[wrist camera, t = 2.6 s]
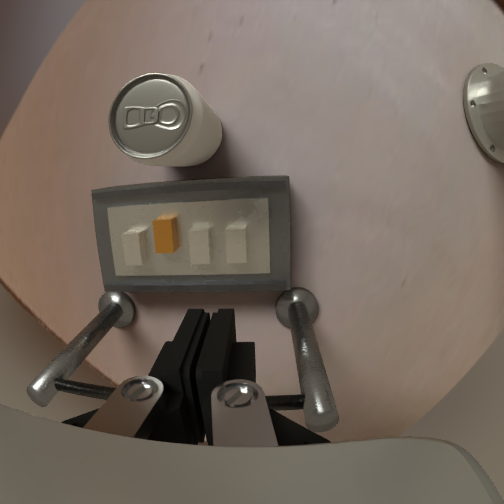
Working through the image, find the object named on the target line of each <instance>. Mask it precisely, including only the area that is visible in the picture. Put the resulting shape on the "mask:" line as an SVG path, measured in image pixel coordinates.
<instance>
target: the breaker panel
mask: <svg viewBox="0 0 504 504" xmlns="http://www.w3.org/2000/svg"><path fill="white" fill-rule="evenodd" d="M91 191H92V203H93V213H94V222H95V231H96V239H97V246H98V253H99V260H100V266H101V272H102V278H103V284H104V289H105V292H247V291H284V290H290V190H289V176H286V175H285V176H249V177H226V178H207V179H192V180H178V181H165V182H154V183H143V184H133V185H124V186H114V187H107V188H101V189H95V190H91Z"/></svg>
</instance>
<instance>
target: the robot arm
mask: <svg viewBox="0 0 504 504" xmlns="http://www.w3.org/2000/svg"><path fill="white" fill-rule="evenodd" d="M463 99H464V109H465V114H466V118H467V121H468V124H469V127H470V129H471V132H472V134H473V136H474V138H475V139H476V141H477V143H478V145H479V146H480V147H481V148H482V150H483V151H484V152H485V153H486V154H487V155H488V156H489V157H490V158H492V159H493V160H495V161H497V162H499V163H503V164H504V68H503V67H501V66H499V65H496V64H492V63H485V64H482V65H479V66H477V67H475V68H474V69H473V70H472V71H471V72H470V73H469V75H468V77H467V79H466V82H465V85H464V94H463ZM205 433H206V438H207V442H208V445H198V442H200V443H203V442H204V438H205ZM0 504H504V501H503V499H502V497H501V495H500V494H499V492H498V490H497V489H496V487H495V485H494V484H493V482H492V481H491V479H490V478H489V476H488V475H487V473H486V472H485V470H484V469H483V468H482V467H481V465H480V464H479V463H478V462H477V460H475V458H474V457H473V456H472V455H471V454H470V453H469V452H467V451H466V450H465V449H464V448H462V447H460V446H459V445H457V444H455V443H452V442H450V441H446V440H441V439H435V438H426V437H412V436H410V437H383V438H369V439H361V440H352V441H343V442H330V441H329V440H327V439H325V438H323V437H321V436H320V435H318V434H316V433H314V432H312V431H310V430H308V429H306V428H305V427H303V426H301V425H299V424H297V423H295V422H294V421H292V420H290V419H288V418H287V417H285V416H283V415H281V414H280V413H278V412H276V411H274V410H273V409H271V408H269V407H268V406H267V402H266V398H265V394H264V391H263V389H262V388H261V387H260V386H259V385H258V384H257V383H256V365H255V343H254V342H236V329H235V314H234V309H233V308H232V309H218V313H213V314H212V317H211V321H210V314H209V313H205V312H204V309H188V311H187V313H186V315H185V317H184V319H183V321H182V323H181V325H180V327H179V329H178V331H177V333H176V335H175V337H174V340H173V341H167V342H165V344H164V346H163V348H162V350H161V351H160V353H159V355H158V357H157V359H156V361H155V363H154V365H153V367H152V369H151V371H150V373H149V375H148V376H135V377H132V378H129V379H127V380H125V381H123V382H122V383H121V384H120V385H119V386H118V387H117V388H116V389H115V391H114V392H113V393H112V394H111V395H110V396H109V398H108V399H107V400H106V401H105V403H104V404H103V405H102V406H101V407H100V408H98V409H96V410H93V411H91V412H88V413H85V414H82V415H80V416H77V417H74V418H71V419H68V420H65V421H63V422H57V421H53V420H49V419H46V418H43V417H39V416H36V415H33V414H30V413H26V412H24V411H20V410H18V409H14V408H11V407H8V406H5V405H2V404H0Z"/></svg>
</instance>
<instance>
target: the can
mask: <svg viewBox="0 0 504 504" xmlns="http://www.w3.org/2000/svg"><path fill="white" fill-rule="evenodd" d="M109 130H110V134H111V137H112V139H113V141H114V143H115V144H116V145H117V147H118V148H119V149H120V150H121V151H122V152H124V153H125V154H126V155H127V156H128V157H129V158H130V159H132V160H134V161H136V162H138V163H141V164H144V165H150V166H181V167H186V166H195V165H199V164H201V163H203V162H205V161H207V160H208V159H209V158H211V157H212V156H213V155H214V153H215V152H216V151H217V149H218V148H219V146H220V143H221V140H222V126H221V122H220V119H219V117H218V115H217V114H216V113H215V111H214V110H213V109H212V107H211V106H210V105H209V104H208V103H207V101H206V100H205V99H204V98H203V97H202V95H201V94H200V93H199V92H198V91H197V90H196V89H195V88H194V87H193V86H192V85H191V84H190V83H189V82H188V81H186V80H184V79H183V78H181V77H178V76H175V75H171V74H162V73H149V74H145V75H141V76H139V77H137V78H135V79H133V80H131V81H130V82H128V83H127V84H126V85H125V86H124V87H123V88H122V89H121V90H120V91H119V92H118V94H117V95H116V97H115V99H114V101H113V103H112V105H111V108H110V112H109Z"/></svg>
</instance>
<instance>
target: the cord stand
mask: <svg viewBox="0 0 504 504" xmlns="http://www.w3.org/2000/svg"><path fill="white" fill-rule="evenodd" d="M99 311H100V313H99V314H98V315H97V316H96V317H95V318H94V319H93V320H92V321H91V322H90V323H89V324H88V325H87V326H86V327H85V328H84V329H83V330H82V331H81V332H80V333H79V334H78V335H77V336H76V337H75V338H74V339H73V340H72V341H71V342H70V343H69V344H68V345H67V346H66V347H65V348H64V349H63V350H62V351H61V352H60V353H59V354H58V355H57V356H56V357H55V358H54V359H53V360H52V361H51V362H50V363H49V364H48V366H47V367H46V368H45V369H44V370H43V371H42V372H41V373H40V374H39V375H38V376H37V377H36V378H35V379H34V380H33V381H32V383H31V384H30V385H29V386H28V387H27V393H28V395H29V397H30V398H31V400H32V401H34V403H36V404H37V405H39V406H41V407H46V406H47V405H48V404H49V402H50V401H51V400H52V398H53V397H54V396H55V395H56V394H57V392H58V391H63V392H67V393H72V394H76V395H82V396H87V397H92V398H98V399H104V400H107V399H108V398H109V396H110V395H111V394H112V393H113V392H114V391H115V389H116V388H114V387H107V386H100V385H93V384H87V383H82V382H75V381H70V380H68V379H69V377H70V376H71V375H72V374H73V373H74V371H75V370H76V369H77V368H78V367H79V365H80V364H81V363H82V362H83V361H84V359H85V358H86V357H87V356H88V355H89V354H90V352H91V351H92V350H93V349H94V348H95V346H96V345H97V344H98V343H99V342H100V341H101V339H102V338H103V337H104V336H105V335H106V334H107V332H108V331H109V330H110V329H111V328H112V327H113V326H114V327H118V328H121V327H125V326H127V325H128V324H129V323H130V322H131V321H132V320H133V318H134V316H135V306H134V303H133V301H132V300H131V298H130V297H129V296H128V295H127V294H126V293H124V292H106V293H105V294H104V295H102V297H101V298H100V300H99ZM317 314H318V303H317V300H316V298H315V296H314V295H313V294H312V293H311V292H310V291H309V290H307V289H304V288H291V289H290V290H286V291H285V292H283V293H282V294H281V295H280V296H279V298H278V300H277V302H276V315H277V318H278V320H279V321H280V322H281V323H282V324H283V325H284V326H286V327H288V328H291V334H292V340H293V346H294V352H295V358H296V364H297V370H298V376H299V383H300V389H301V395H281V396H265V398H266V402H267V406H268V407H269V408H271V409H273V410H274V411H276V410H298V409H304V415H305V421H306V426H307V428H308V429H309V430H311V431H314V432H324V431H328V430H330V429H332V428H333V427H335V426H336V424H337V423H338V421H339V416H338V413H337V409H336V405H335V402H334V398H333V395H332V391H331V388H330V384H329V381H328V377H327V374H326V370H325V367H324V363H323V360H322V357H321V353H320V350H319V346H318V343H317V340H316V336H315V333H314V330H313V326H312V322H313V321H314V320H315V318H316V317H317Z"/></svg>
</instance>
